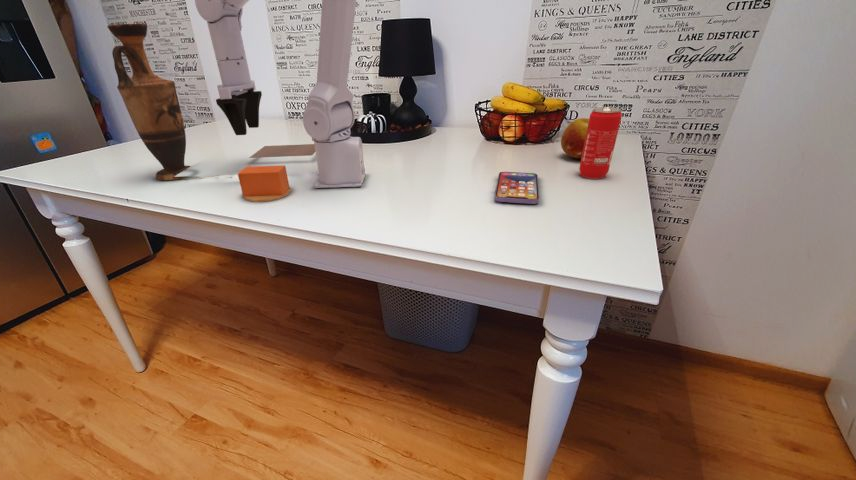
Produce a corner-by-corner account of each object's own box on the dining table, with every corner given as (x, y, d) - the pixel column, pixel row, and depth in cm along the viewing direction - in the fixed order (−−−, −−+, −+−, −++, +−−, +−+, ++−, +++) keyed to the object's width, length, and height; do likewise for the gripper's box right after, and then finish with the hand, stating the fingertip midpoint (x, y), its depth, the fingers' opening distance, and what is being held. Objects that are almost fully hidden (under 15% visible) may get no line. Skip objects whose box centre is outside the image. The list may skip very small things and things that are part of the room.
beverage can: (578, 178, 77) (591, 111, 71) (578, 170, 81) (590, 107, 75) (607, 180, 75) (624, 112, 69) (606, 172, 79) (622, 107, 73)
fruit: (603, 164, 84) (613, 124, 80) (557, 162, 87) (564, 123, 82) (601, 152, 91) (609, 115, 87) (558, 151, 94) (564, 115, 90)
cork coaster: (295, 185, 82) (295, 183, 82) (283, 201, 75) (283, 199, 75) (253, 187, 83) (253, 185, 83) (237, 202, 76) (236, 200, 75)
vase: (188, 166, 100) (144, 25, 85) (209, 173, 94) (165, 22, 78) (143, 177, 94) (86, 26, 78) (163, 185, 87) (104, 23, 72)
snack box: (289, 187, 80) (285, 165, 78) (283, 195, 77) (278, 172, 74) (251, 188, 81) (245, 166, 79) (243, 196, 77) (237, 173, 75)
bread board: (322, 149, 108) (322, 143, 108) (313, 161, 98) (312, 155, 97) (265, 151, 110) (264, 146, 109) (250, 163, 99) (248, 157, 99)
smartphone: (537, 177, 79) (538, 205, 66) (498, 175, 80) (493, 202, 68) (537, 173, 78) (539, 200, 66) (499, 171, 80) (494, 197, 68)
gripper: (226, 58, 86) (242, 125, 93) (195, 63, 73) (215, 139, 81) (258, 56, 85) (271, 123, 92) (232, 60, 73) (249, 137, 80)
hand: (247, 131), depth 86 cm, fingers open, 7 cm apart
